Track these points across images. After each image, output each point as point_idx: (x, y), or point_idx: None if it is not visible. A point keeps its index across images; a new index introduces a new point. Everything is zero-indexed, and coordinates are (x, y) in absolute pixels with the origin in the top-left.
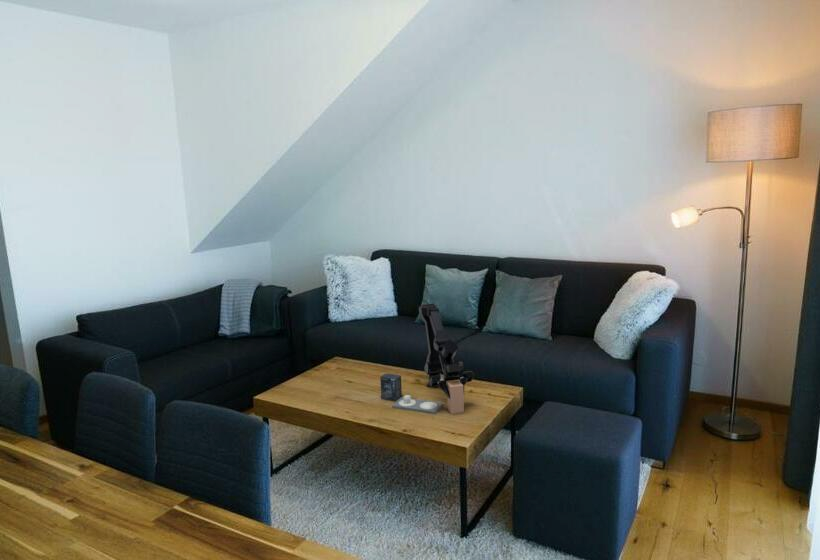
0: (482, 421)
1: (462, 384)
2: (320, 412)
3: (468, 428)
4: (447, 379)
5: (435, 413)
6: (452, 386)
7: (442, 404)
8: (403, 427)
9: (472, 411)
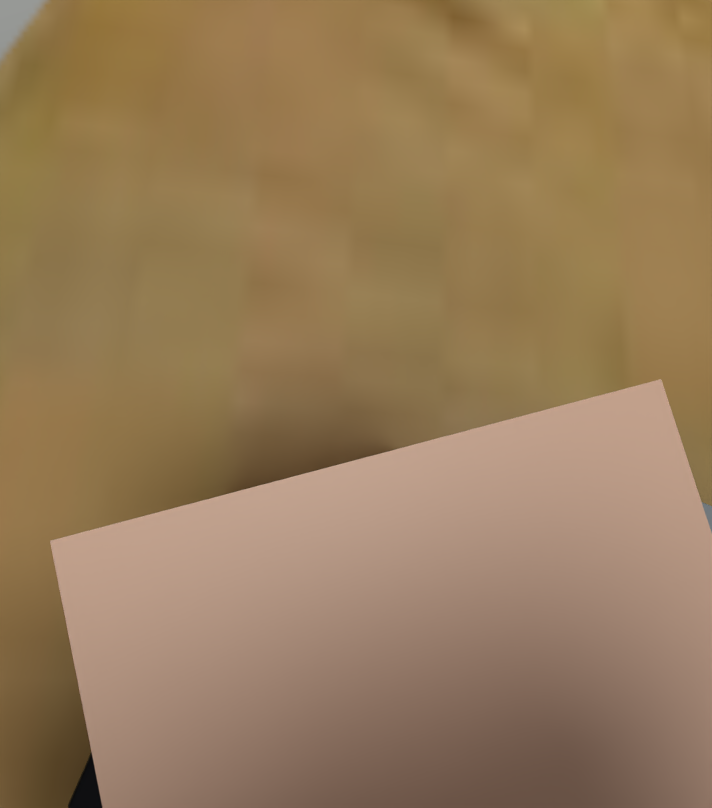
0: (6, 190)
1: (79, 678)
2: None
3: (217, 38)
4: None
5: None
6: (592, 426)
7: None
8: None
9: (93, 518)
